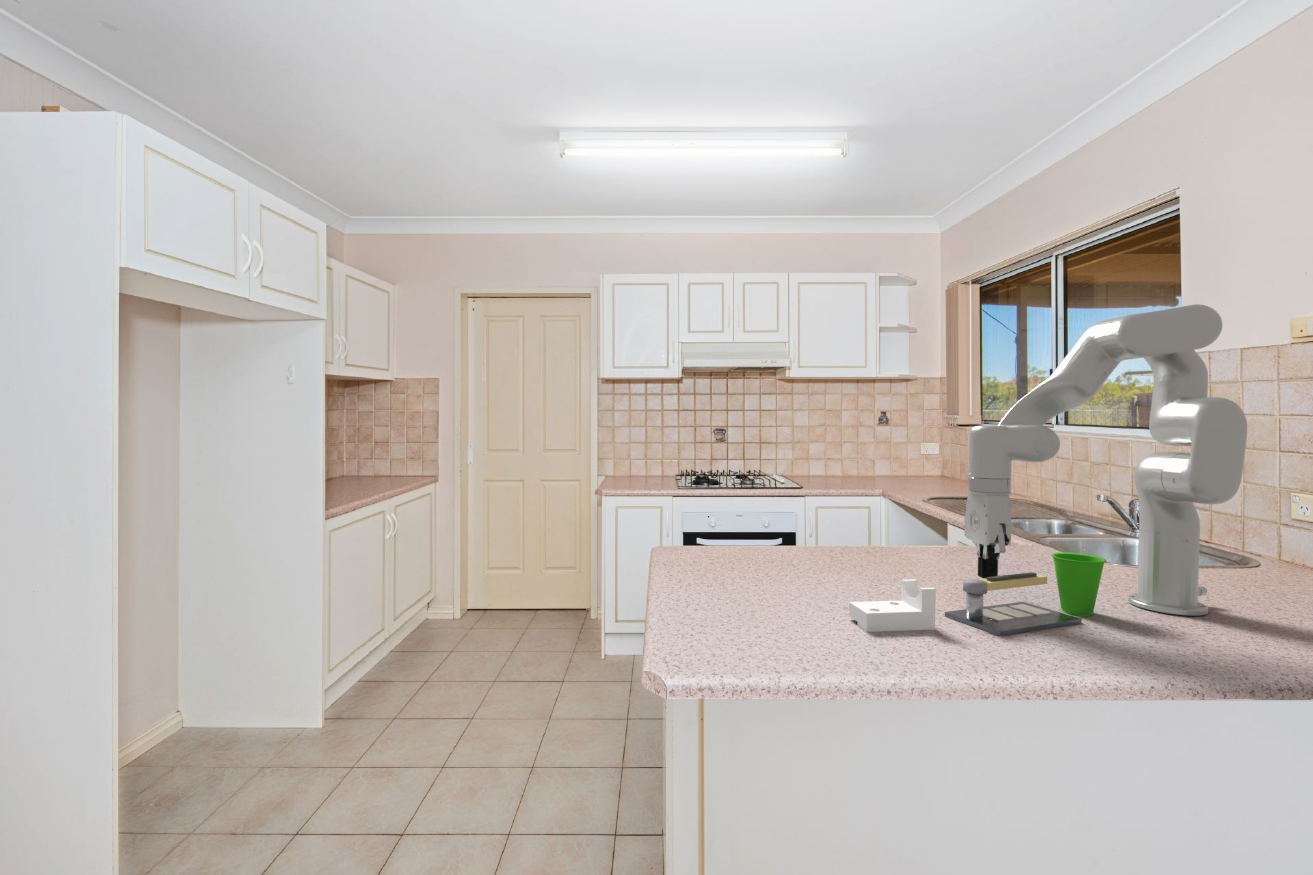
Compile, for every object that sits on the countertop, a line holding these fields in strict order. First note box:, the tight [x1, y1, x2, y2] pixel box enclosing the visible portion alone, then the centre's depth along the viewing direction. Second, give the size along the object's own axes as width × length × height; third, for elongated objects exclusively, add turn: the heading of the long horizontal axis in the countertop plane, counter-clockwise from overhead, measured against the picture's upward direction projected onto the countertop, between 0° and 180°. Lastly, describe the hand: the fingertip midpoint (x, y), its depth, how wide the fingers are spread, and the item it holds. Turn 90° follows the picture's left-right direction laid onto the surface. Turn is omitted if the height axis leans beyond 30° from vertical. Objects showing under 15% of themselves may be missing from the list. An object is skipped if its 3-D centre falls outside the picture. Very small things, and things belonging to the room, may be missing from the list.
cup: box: [1050, 551, 1107, 617], centre depth 123 cm, size 9×9×11 cm
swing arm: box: [962, 571, 1048, 595], centre depth 118 cm, size 20×4×2 cm, turn 111°
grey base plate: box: [944, 592, 1083, 637], centre depth 118 cm, size 21×12×6 cm, turn 111°
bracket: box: [848, 578, 937, 633], centre depth 114 cm, size 13×7×8 cm, turn 97°
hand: (987, 577), depth 126 cm, fingers closed
